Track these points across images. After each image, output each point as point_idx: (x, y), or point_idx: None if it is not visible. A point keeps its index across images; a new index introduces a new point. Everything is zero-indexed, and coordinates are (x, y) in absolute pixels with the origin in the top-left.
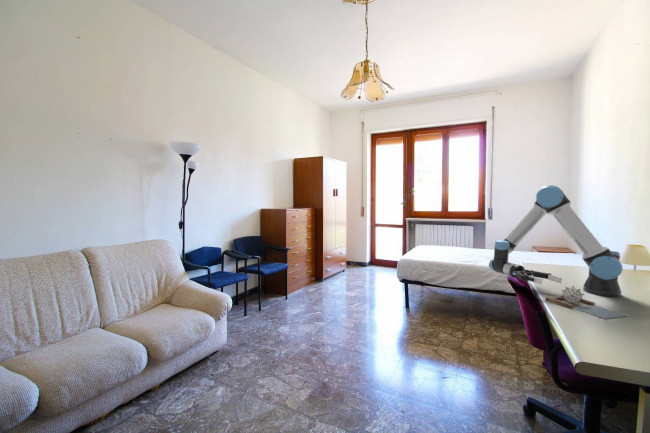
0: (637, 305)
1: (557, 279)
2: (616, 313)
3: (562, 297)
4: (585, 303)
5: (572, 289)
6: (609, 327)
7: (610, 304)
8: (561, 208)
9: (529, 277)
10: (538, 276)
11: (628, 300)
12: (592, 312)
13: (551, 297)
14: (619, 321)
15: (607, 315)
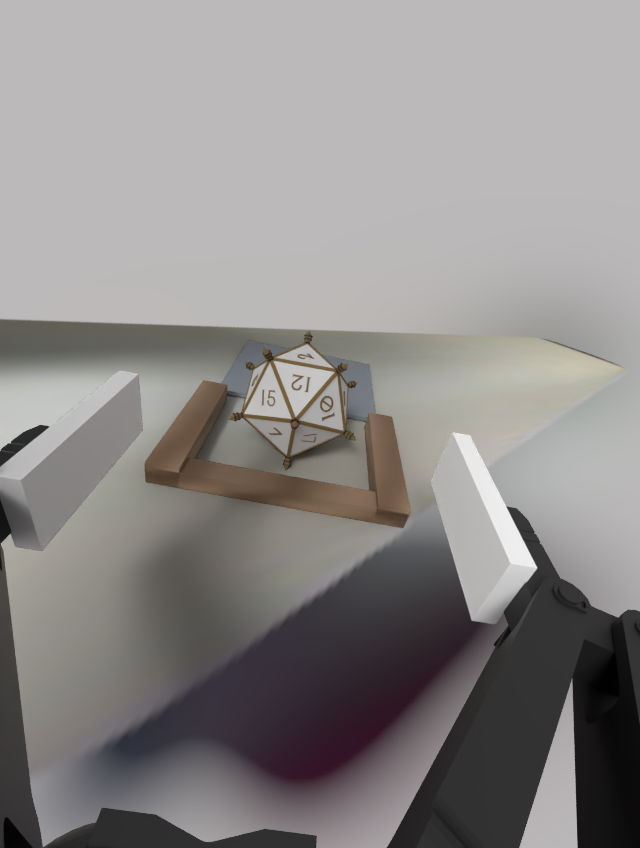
0: None
1: (120, 422)
2: (261, 352)
3: (266, 473)
4: (217, 413)
5: (324, 358)
6: (423, 360)
7: (87, 370)
8: None
9: (538, 553)
10: (12, 694)
11: None
12: (347, 383)
13: (355, 502)
14: (336, 351)
15: None
